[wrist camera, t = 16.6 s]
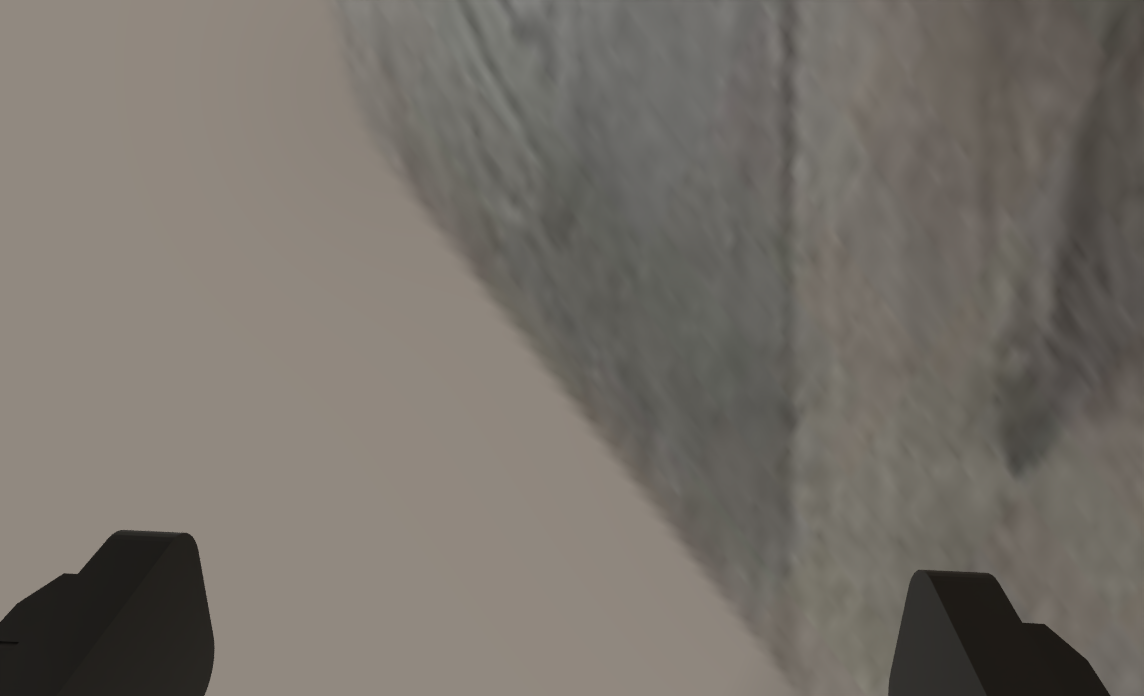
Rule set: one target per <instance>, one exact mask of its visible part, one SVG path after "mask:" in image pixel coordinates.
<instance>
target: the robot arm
mask: <svg viewBox="0 0 1144 696" xmlns="http://www.w3.org/2000/svg"><path fill="white" fill-rule="evenodd" d="M213 661H214V637H213V631H212V626H211V620H210V614H209V608H208V603H207V598H206V591H205V586H204V580H203V575H202V569H201V563H200V558H199V552H198V548H197V544H196V542H195V540H194V538H193V537H192V536H191V535H190V534H188V533H174V532H154V531H134V530H120V531H117V532H116V533H114V534H112V535H111V536H110V537H109V538H108V539H107V540H106V542H105V543H104V544H103V545H102V546H101V548H100V549H99V550H98V551H97V552H96V553H95V555H94V556H93V557H92V558H91V559H90V561H89V562H88V563H87V564H86V565H85V566H84V567H83V569H82V570H81V571H80V572H79V573H78V574H65V573H64V574H62V575H61V576H59V577H58V578H56V579H55V580H53V581H51V582H50V583H48V584H47V585H45V586H44V587H42V588H41V589H39V590H38V591H36V592H35V593H33V594H31V595H30V596H28V597H27V598H25V599H24V600H22V601H21V602H19V603H17V604H16V606H15V607H14V608H13V609H12V610H11V611H10V612H9V613H8V614H7V615H6V616H5V617H4V619H3V620H2V621H1V622H0V696H204V695H205V692H206V690H207V687H208V684H209V681H210V677H211V673H212V668H213ZM888 696H1110V694H1109V693H1108V691H1107V690H1106V688H1105V687H1104V685H1103V684H1102V682H1101V681H1100V679H1099V677H1098V676H1097V674H1096V673H1095V671H1094V670H1093V668H1092V667H1091V665H1090V664H1089V662H1088V661H1087V660H1086V659H1085V658H1084V657H1083V656H1082V655H1080V654H1079V653H1078V652H1077V651H1076V650H1075V649H1073V648H1072V647H1071V646H1070V645H1069V644H1067V643H1066V642H1065V641H1064V640H1063V639H1062V638H1060V637H1059V636H1058V635H1057V634H1056V633H1054V632H1053V631H1052V630H1051V629H1050V628H1049V627H1047V626H1046V625H1045V624H1034V623H1022V622H1021V620H1020V618H1019V616H1018V615H1017V613H1016V611H1015V610H1014V608H1013V606H1012V605H1011V603H1010V601H1009V599H1008V598H1007V596H1006V594H1005V593H1004V591H1003V589H1002V588H1001V586H1000V584H999V583H998V581H997V580H996V578H995V577H994V576H992V575H991V574H989V573H977V572H955V571H934V570H918V571H916V572H915V573H914V575H913V576H912V578H911V581H910V584H909V588H908V593H907V597H906V602H905V607H904V612H903V616H902V621H901V626H900V630H899V635H898V640H897V645H896V649H895V654H894V659H893V664H892V668H891V673H890V679H889V693H888Z"/></svg>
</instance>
